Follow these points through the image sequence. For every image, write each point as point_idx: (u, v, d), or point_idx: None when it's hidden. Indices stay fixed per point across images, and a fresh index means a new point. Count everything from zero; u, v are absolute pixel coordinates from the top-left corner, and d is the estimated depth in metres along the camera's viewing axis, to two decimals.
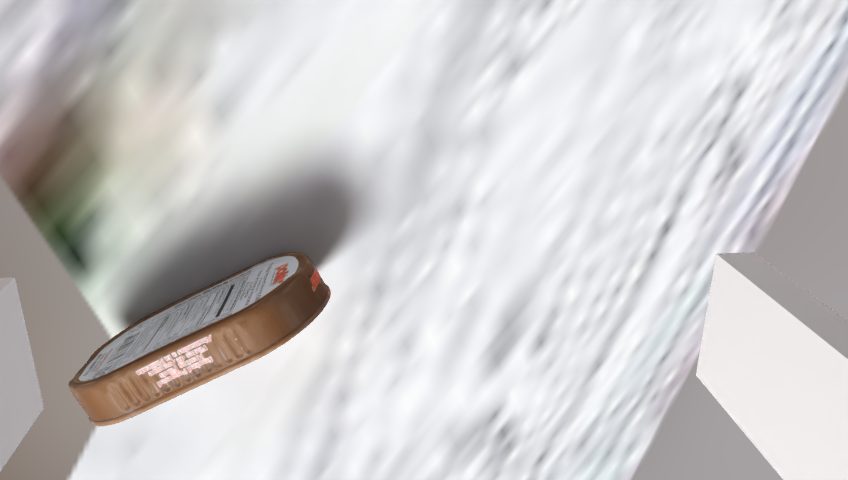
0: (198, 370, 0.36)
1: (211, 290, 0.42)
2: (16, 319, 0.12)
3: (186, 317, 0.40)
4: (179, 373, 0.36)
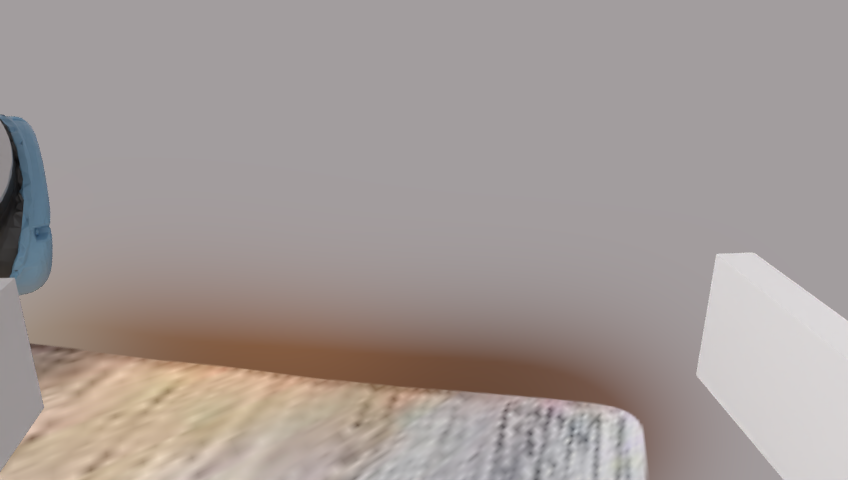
0: None
1: None
2: (15, 319, 0.12)
3: None
4: None
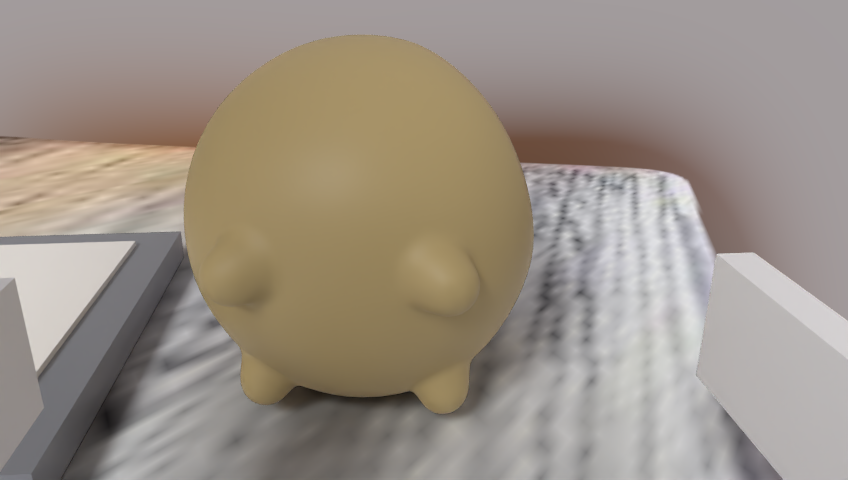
0: None
1: None
2: (16, 319, 0.12)
3: None
4: None
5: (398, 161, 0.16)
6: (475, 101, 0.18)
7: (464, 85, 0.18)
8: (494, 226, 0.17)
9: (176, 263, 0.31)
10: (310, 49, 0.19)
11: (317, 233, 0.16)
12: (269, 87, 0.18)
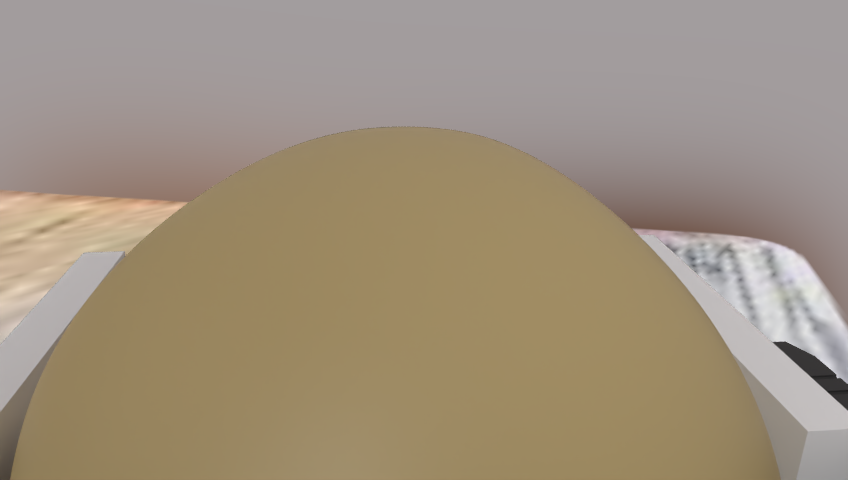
0: None
1: None
2: None
3: None
4: None
5: None
6: (684, 315, 0.08)
7: (653, 271, 0.08)
8: None
9: None
10: (290, 178, 0.08)
11: None
12: (183, 293, 0.07)
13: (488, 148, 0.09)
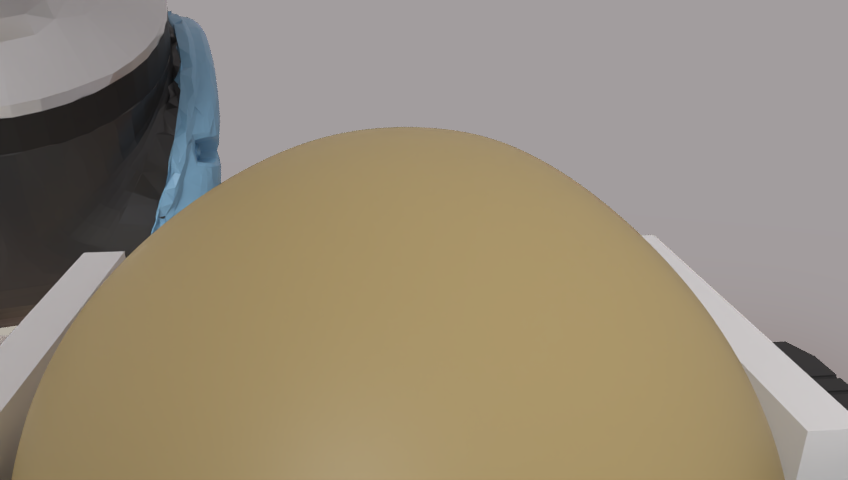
0: None
1: None
2: None
3: None
4: None
5: None
6: (689, 316, 0.07)
7: (657, 272, 0.08)
8: None
9: None
10: (292, 179, 0.08)
11: None
12: (186, 294, 0.07)
13: (491, 149, 0.09)
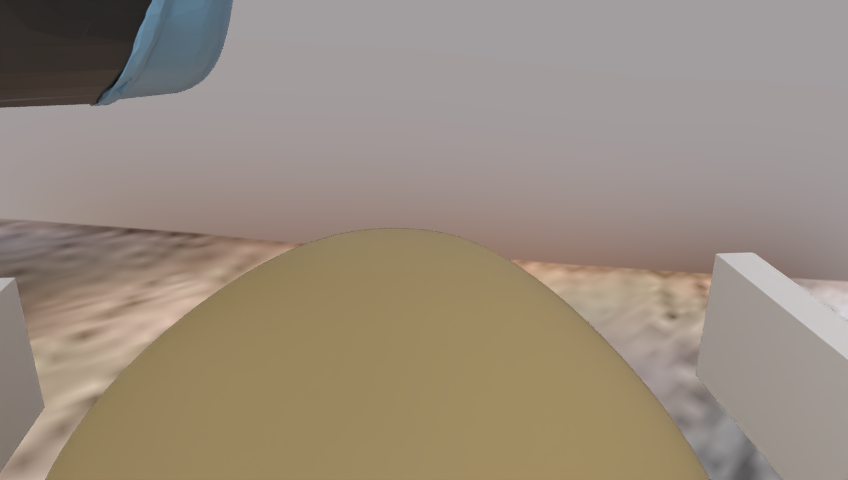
0: None
1: None
2: (16, 319, 0.12)
3: None
4: None
5: None
6: (659, 445, 0.08)
7: (629, 399, 0.08)
8: None
9: None
10: (279, 306, 0.08)
11: None
12: (176, 434, 0.07)
13: (472, 265, 0.09)
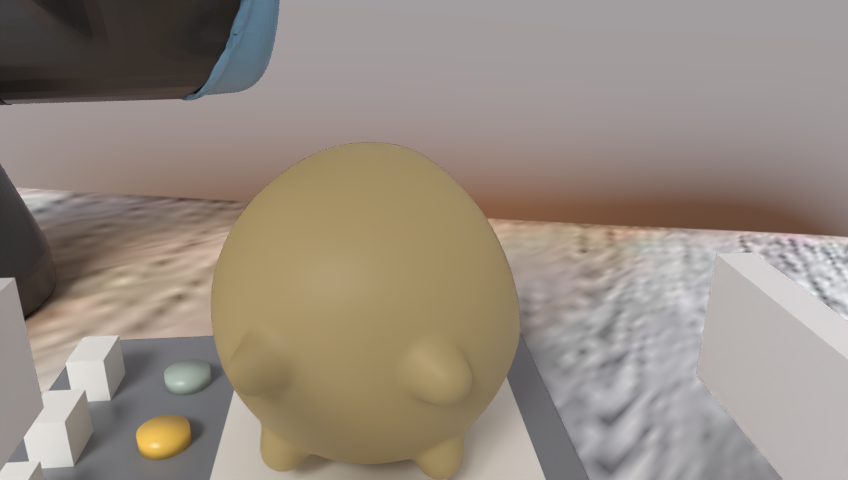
0: None
1: None
2: (16, 319, 0.12)
3: None
4: None
5: (401, 272, 0.19)
6: (468, 211, 0.21)
7: (458, 196, 0.21)
8: (484, 323, 0.20)
9: None
10: (323, 163, 0.21)
11: (332, 336, 0.19)
12: (288, 201, 0.20)
13: (401, 151, 0.22)
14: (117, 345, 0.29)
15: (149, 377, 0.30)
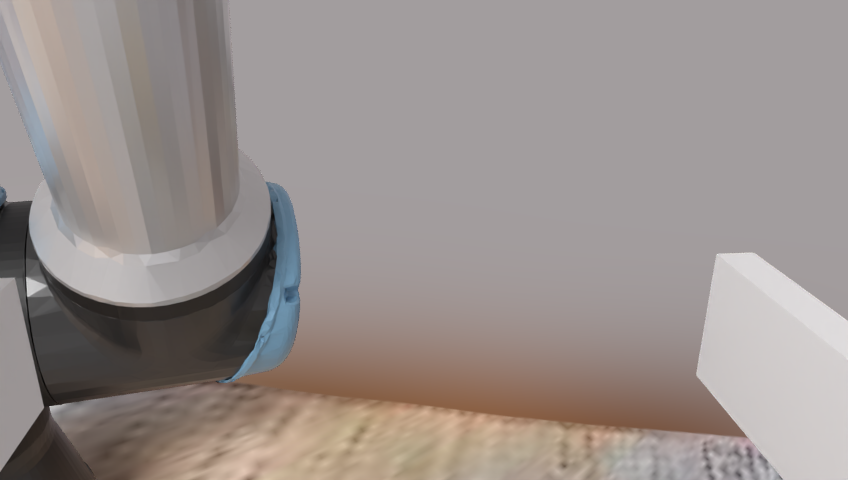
0: None
1: None
2: (16, 319, 0.12)
3: None
4: None
5: None
6: None
7: None
8: None
9: None
10: None
11: None
12: None
13: None
14: None
15: None
